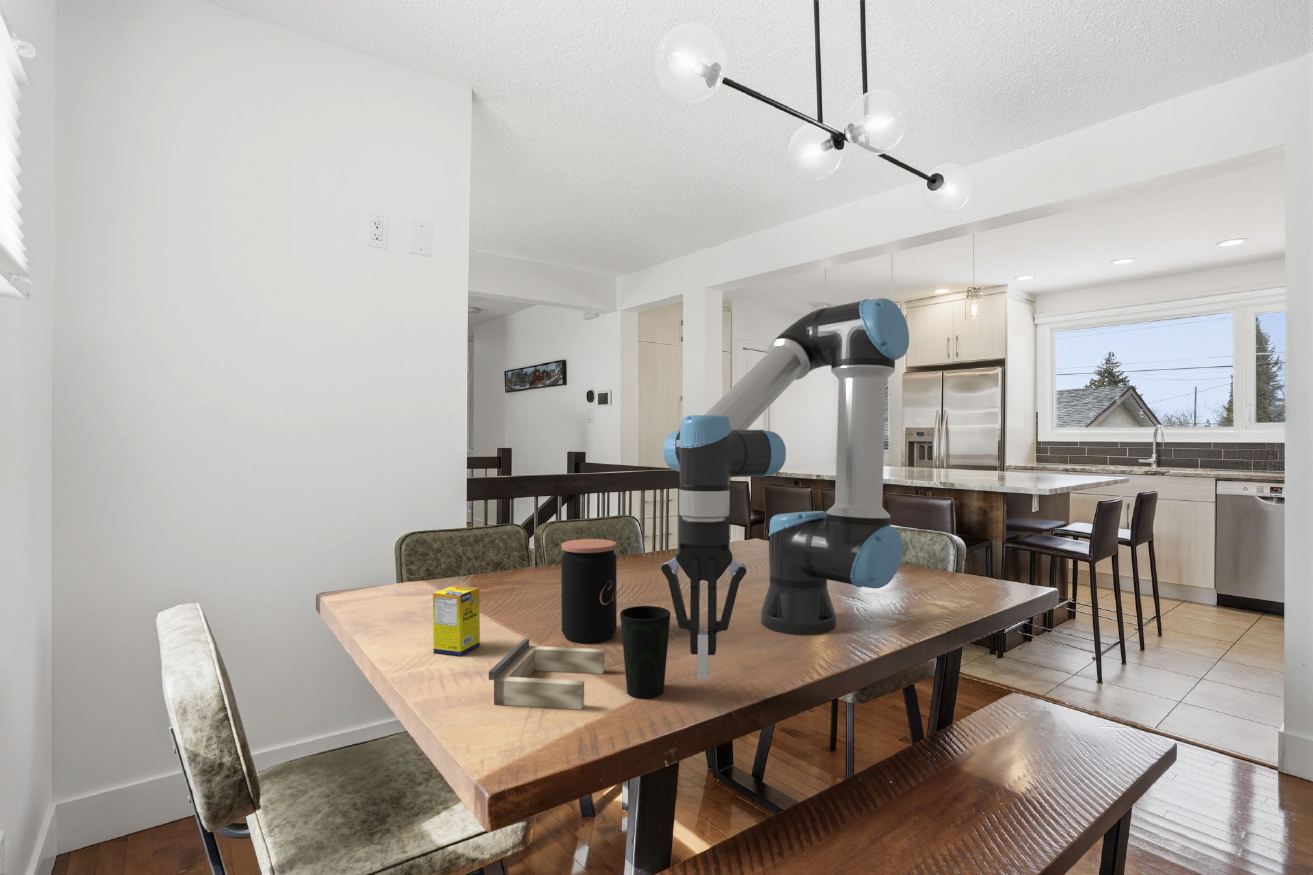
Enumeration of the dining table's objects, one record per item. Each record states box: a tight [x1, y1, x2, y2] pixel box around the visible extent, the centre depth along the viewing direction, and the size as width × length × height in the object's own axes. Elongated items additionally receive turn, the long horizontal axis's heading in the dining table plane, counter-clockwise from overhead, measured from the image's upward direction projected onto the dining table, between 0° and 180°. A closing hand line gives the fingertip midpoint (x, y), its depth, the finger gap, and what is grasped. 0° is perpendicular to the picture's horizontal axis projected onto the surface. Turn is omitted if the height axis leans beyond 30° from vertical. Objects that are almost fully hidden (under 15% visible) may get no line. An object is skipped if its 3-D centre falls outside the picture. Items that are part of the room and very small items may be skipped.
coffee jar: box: [560, 538, 618, 644], centre depth 122 cm, size 11×11×18 cm
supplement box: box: [432, 585, 481, 657], centre depth 114 cm, size 6×6×11 cm
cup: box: [619, 605, 671, 700], centre depth 95 cm, size 8×8×12 cm
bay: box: [488, 638, 606, 710], centre depth 97 cm, size 14×15×5 cm
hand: (703, 675), depth 93 cm, fingers closed
